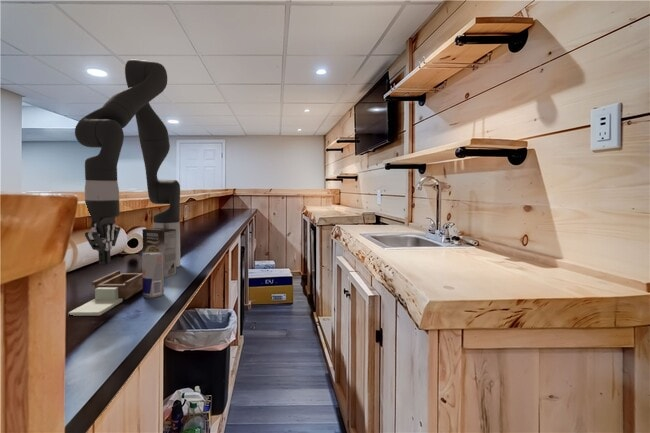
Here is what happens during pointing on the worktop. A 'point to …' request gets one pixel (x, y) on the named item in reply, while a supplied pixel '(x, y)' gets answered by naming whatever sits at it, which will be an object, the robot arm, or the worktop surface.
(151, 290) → the energy drink
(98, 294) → the lid
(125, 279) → the walnut box
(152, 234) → the coffee box
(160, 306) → the worktop surface
